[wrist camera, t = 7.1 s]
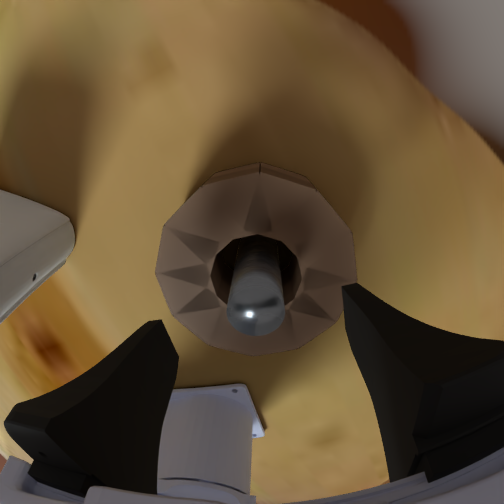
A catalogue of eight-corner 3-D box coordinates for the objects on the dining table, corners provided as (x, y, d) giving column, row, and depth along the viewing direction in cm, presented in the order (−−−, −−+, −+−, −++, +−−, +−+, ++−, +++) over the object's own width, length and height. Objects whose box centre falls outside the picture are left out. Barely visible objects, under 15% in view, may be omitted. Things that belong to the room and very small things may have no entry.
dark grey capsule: (246, 270, 20) (238, 341, 13) (232, 237, 19) (217, 297, 12) (282, 259, 19) (292, 327, 13) (270, 224, 18) (274, 280, 12)
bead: (204, 326, 21) (194, 363, 18) (156, 189, 18) (130, 206, 14) (345, 299, 20) (360, 335, 16) (323, 149, 16) (340, 155, 13)
